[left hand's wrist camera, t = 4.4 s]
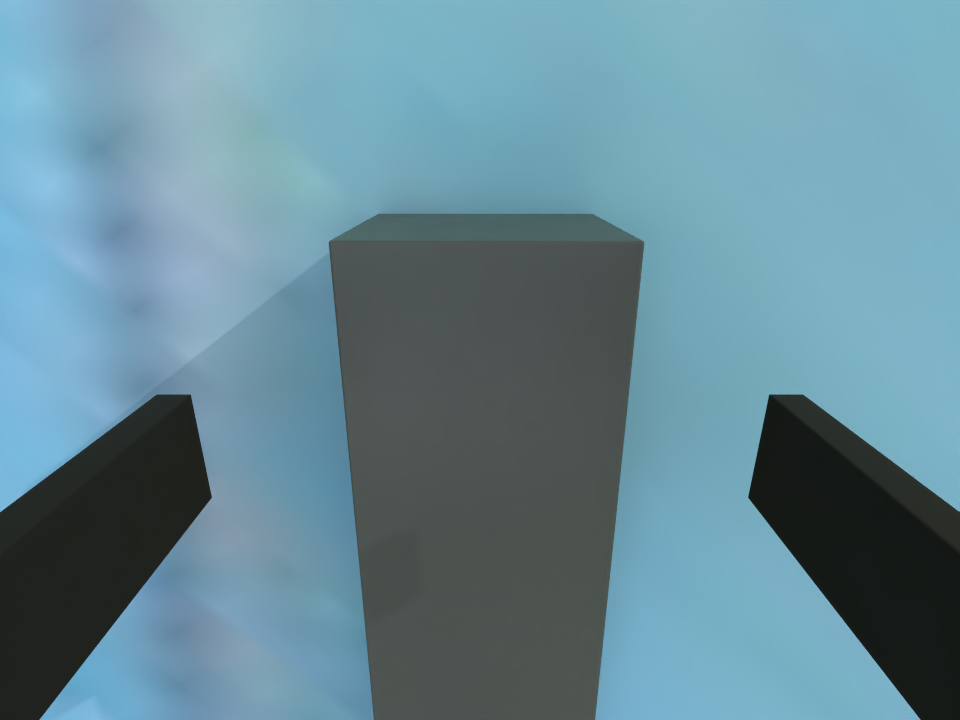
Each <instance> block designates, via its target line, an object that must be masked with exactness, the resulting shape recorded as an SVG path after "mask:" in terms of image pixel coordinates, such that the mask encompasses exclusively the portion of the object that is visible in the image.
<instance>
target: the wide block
mask: <svg viewBox="0 0 960 720" xmlns="http://www.w3.org/2000/svg"><path fill="white" fill-rule="evenodd" d="M329 249H330V260H331V270H332V281H333V291H334V302H335V312H336V323H337V333H338V344H339V354H340V365H341V376H342V386H343V397H344V407H345V418H346V428H347V439H348V449H349V460H350V471H351V481H352V492H353V502H354V513H355V523H356V534H357V544H358V555H359V565H360V576H361V587H362V597H363V608H364V618H365V629H366V639H367V650H368V660H369V671H370V681H371V692H372V703H373V713H374V720H595V714H596V704H597V695H598V685H599V675H600V666H601V656H602V646H603V637H604V627H605V617H606V608H607V598H608V588H609V579H610V569H611V559H612V550H613V540H614V530H615V521H616V511H617V501H618V492H619V482H620V472H621V462H622V453H623V443H624V433H625V424H626V414H627V404H628V395H629V385H630V375H631V366H632V356H633V346H634V337H635V327H636V317H637V308H638V298H639V288H640V279H641V269H642V259H643V250H644V241H642V240H640V239H638V238H636V237H634V236H632V235H630V234H629V233H627V232H625V231H623V230H621V229H619V228H617V227H616V226H614V225H612V224H610V223H608V222H606V221H604V220H602V219H601V218H599V217H597V216H595V215H593V214H378V215H376V216H374V217H372V218H371V219H369V220H367V221H365V222H363V223H362V224H360V225H358V226H356V227H354V228H352V229H351V230H349V231H347V232H345V233H343V234H342V235H340V236H338V237H336V238H334V239H333V240H331V241H329Z"/></svg>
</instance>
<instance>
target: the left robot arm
mask: <svg viewBox="0 0 960 720" xmlns="http://www.w3.org/2000/svg"><path fill="white" fill-rule="evenodd" d="M211 498H212V496H211V491H210V487H209V482H208V477H207V472H206V467H205V462H204V457H203V452H202V448H201V443H200V438H199V433H198V428H197V423H196V418H195V413H194V409H193V404H192V399H191V395H156V396H155V397H153V398H152V399H151V400H149V401H148V402H147V403H145V404H144V405H143V406H141V407H140V408H139V409H137V410H136V411H135V412H133V413H132V414H131V415H129V416H128V417H127V418H125V419H124V420H123V421H121V422H120V423H119V424H117V425H116V426H115V427H113V428H112V429H111V430H109V431H108V432H107V433H105V434H104V435H103V436H101V437H100V438H99V439H97V440H96V441H95V442H93V443H92V444H91V445H89V446H88V447H87V448H85V449H84V450H83V451H81V452H80V453H79V454H77V455H76V456H75V457H73V458H72V459H71V460H69V461H68V462H67V463H65V464H64V465H63V466H61V467H60V468H59V469H57V470H56V471H55V472H53V473H52V474H51V475H49V476H48V477H47V478H45V479H44V480H43V481H41V482H40V483H39V484H37V485H36V486H35V487H33V488H32V489H31V490H29V491H28V492H27V493H25V494H24V495H23V496H21V497H20V498H19V499H17V500H16V501H15V502H13V503H12V504H11V505H9V506H8V507H7V508H5V509H4V510H3V511H1V512H0V720H39V719H40V718H41V717H42V716H43V714H44V713H45V712H46V710H47V709H48V708H49V707H50V705H51V704H52V703H53V701H54V700H55V699H56V698H57V696H58V695H59V694H60V692H61V691H62V690H63V688H64V687H65V686H66V685H67V683H68V682H69V681H70V679H71V678H72V677H73V676H74V674H75V673H76V672H77V670H78V669H79V668H80V667H81V665H82V664H83V663H84V661H85V660H86V659H87V658H88V656H89V655H90V654H91V652H92V651H93V650H94V649H95V647H96V646H97V645H98V643H99V642H100V641H101V640H102V638H103V637H104V636H105V634H106V633H107V632H108V631H109V629H110V628H111V627H112V625H113V624H114V623H115V622H116V620H117V619H118V618H119V616H120V615H121V614H122V612H123V611H124V610H125V609H126V607H127V606H128V605H129V603H130V602H131V601H132V600H133V598H134V597H135V596H136V594H137V593H138V592H139V591H140V589H141V588H142V587H143V585H144V584H145V583H146V582H147V580H148V579H149V578H150V576H151V575H152V574H153V573H154V571H155V570H156V569H157V567H158V566H159V565H160V564H161V562H162V561H163V560H164V558H165V557H166V556H167V555H168V553H169V552H170V551H171V549H172V548H173V547H174V546H175V544H176V543H177V542H178V540H179V539H180V538H181V537H182V535H183V534H184V533H185V531H186V530H187V529H188V527H189V526H190V525H191V524H192V522H193V521H194V520H195V518H196V517H197V516H198V515H199V513H200V512H201V511H202V509H203V508H204V507H205V506H206V504H207V503H208V502H209V500H210V499H211ZM748 498H749V499H750V500H751V502H752V503H753V504H754V506H755V507H756V508H757V509H758V511H759V512H760V513H761V515H762V516H763V517H764V518H765V520H766V521H767V522H768V524H769V525H770V526H771V527H772V529H773V530H774V531H775V533H776V534H777V535H778V537H779V538H780V539H781V540H782V542H783V543H784V544H785V546H786V547H787V548H788V549H789V551H790V552H791V553H792V555H793V556H794V557H795V558H796V560H797V561H798V562H799V564H800V565H801V566H802V567H803V569H804V570H805V571H806V573H807V574H808V575H809V576H810V578H811V579H812V580H813V582H814V583H815V584H816V585H817V587H818V588H819V589H820V591H821V592H822V593H823V594H824V596H825V597H826V598H827V600H828V601H829V602H830V603H831V605H832V606H833V607H834V609H835V610H836V611H837V612H838V614H839V615H840V616H841V618H842V619H843V620H844V622H845V623H846V624H847V625H848V627H849V628H850V629H851V631H852V632H853V633H854V634H855V636H856V637H857V638H858V640H859V641H860V642H861V643H862V645H863V646H864V647H865V649H866V650H867V651H868V652H869V654H870V655H871V656H872V658H873V659H874V660H875V661H876V663H877V664H878V665H879V667H880V668H881V669H882V670H883V672H884V673H885V674H886V676H887V677H888V678H889V679H890V681H891V682H892V683H893V685H894V686H895V687H896V688H897V690H898V691H899V692H900V694H901V695H902V696H903V698H904V699H905V700H906V701H907V703H908V704H909V705H910V707H911V708H912V709H913V710H914V712H915V713H916V714H917V716H918V717H919V718H920V719H921V720H960V512H959V511H957V510H956V509H955V508H953V507H952V506H951V505H949V504H948V503H947V502H945V501H944V500H943V499H941V498H940V497H939V496H937V495H936V494H935V493H933V492H932V491H931V490H929V489H928V488H927V487H925V486H924V485H923V484H921V483H920V482H919V481H917V480H916V479H915V478H913V477H912V476H911V475H909V474H908V473H907V472H905V471H904V470H903V469H901V468H900V467H899V466H897V465H896V464H895V463H893V462H892V461H891V460H889V459H888V458H887V457H885V456H884V455H883V454H881V453H880V452H879V451H877V450H876V449H875V448H873V447H872V446H871V445H869V444H868V443H867V442H865V441H864V440H863V439H861V438H860V437H859V436H857V435H856V434H855V433H853V432H852V431H851V430H849V429H848V428H847V427H845V426H844V425H843V424H841V423H840V422H839V421H837V420H836V419H835V418H833V417H832V416H831V415H829V414H828V413H827V412H825V411H824V410H823V409H821V408H820V407H819V406H817V405H816V404H815V403H813V402H812V401H811V400H809V399H808V398H807V397H805V396H804V395H769V399H768V404H767V409H766V413H765V418H764V423H763V428H762V433H761V438H760V443H759V448H758V452H757V457H756V462H755V467H754V472H753V477H752V482H751V487H750V491H749V496H748Z"/></svg>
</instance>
